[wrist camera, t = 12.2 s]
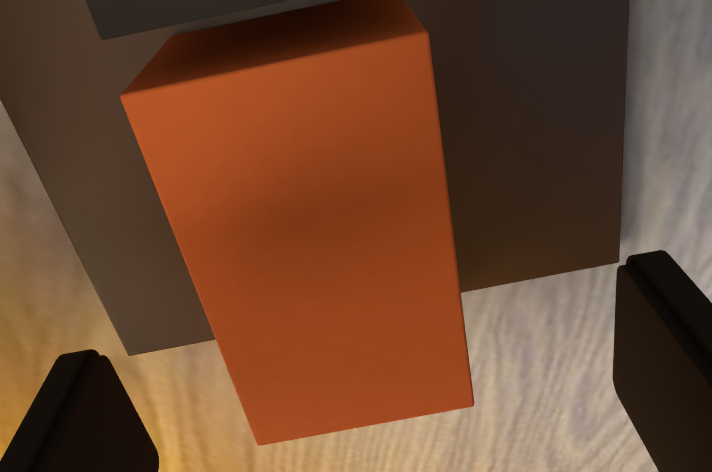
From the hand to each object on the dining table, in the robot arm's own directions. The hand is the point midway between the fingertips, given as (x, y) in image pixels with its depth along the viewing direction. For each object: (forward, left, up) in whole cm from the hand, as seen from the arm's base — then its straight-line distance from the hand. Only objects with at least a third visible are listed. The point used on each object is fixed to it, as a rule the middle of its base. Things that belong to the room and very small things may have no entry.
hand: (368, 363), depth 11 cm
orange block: (+1, 0, -8) cm, 8 cm away
